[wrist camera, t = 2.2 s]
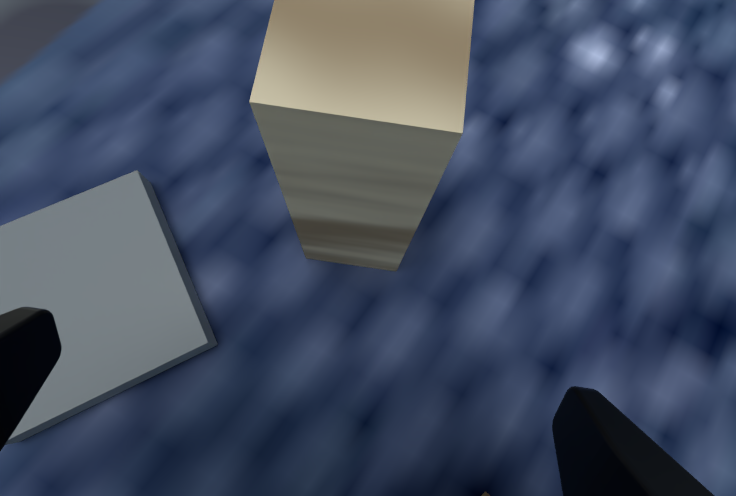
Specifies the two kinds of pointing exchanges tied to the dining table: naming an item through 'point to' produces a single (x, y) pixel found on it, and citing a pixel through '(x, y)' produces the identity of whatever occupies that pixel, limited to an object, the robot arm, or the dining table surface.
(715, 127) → the dining table surface
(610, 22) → the dining table surface
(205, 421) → the dining table surface
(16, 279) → the slate plinth
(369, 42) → the beech pillar
